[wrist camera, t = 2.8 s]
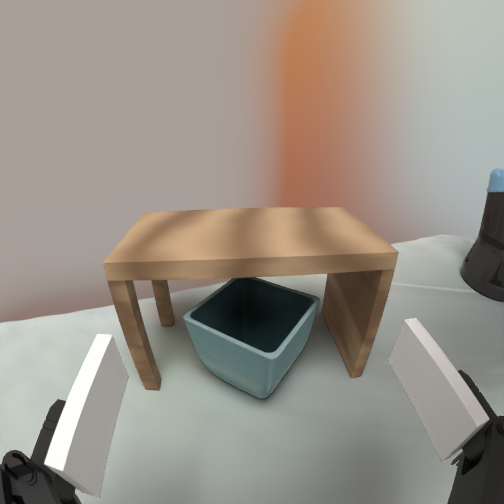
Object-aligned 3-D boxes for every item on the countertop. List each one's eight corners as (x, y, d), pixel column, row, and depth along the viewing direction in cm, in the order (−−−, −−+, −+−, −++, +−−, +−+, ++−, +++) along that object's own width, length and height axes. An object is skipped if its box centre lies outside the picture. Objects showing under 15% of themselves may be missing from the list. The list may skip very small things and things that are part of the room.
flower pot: (269, 423, 22) (274, 359, 18) (194, 383, 26) (179, 315, 22) (310, 364, 28) (322, 296, 25) (242, 337, 33) (240, 271, 29)
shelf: (329, 311, 37) (344, 207, 31) (361, 376, 26) (398, 252, 20) (163, 319, 35) (144, 213, 29) (145, 389, 25) (102, 262, 18)
